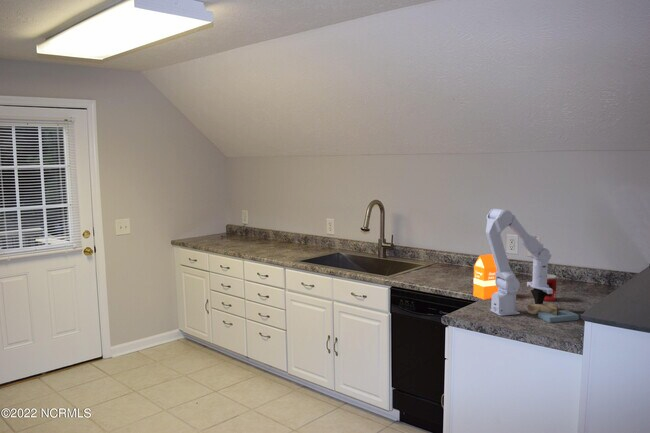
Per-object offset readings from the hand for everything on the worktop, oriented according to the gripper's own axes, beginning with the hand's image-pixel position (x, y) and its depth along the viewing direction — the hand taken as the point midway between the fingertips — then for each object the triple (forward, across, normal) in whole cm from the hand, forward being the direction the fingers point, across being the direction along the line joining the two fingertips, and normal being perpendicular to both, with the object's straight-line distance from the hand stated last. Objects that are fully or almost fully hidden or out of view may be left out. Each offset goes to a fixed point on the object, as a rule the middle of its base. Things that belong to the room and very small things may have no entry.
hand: (538, 306), depth 227 cm
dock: (+2, -12, 0) cm, 12 cm away
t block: (+2, -5, 0) cm, 5 cm away
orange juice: (+2, +27, +9) cm, 28 cm away
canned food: (+2, +15, -15) cm, 21 cm away
